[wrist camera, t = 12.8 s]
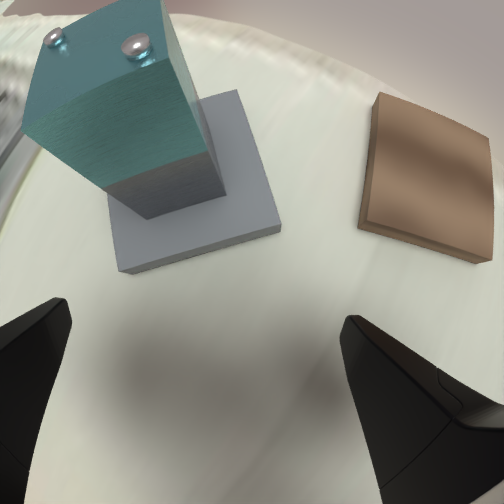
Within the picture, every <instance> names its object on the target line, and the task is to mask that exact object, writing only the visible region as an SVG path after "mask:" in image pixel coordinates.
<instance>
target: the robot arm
mask: <svg viewBox="0 0 504 504" xmlns="http://www.w3.org/2000/svg"><path fill="white" fill-rule="evenodd" d="M71 327H72V318H71V314H70V311H69V307H68V303H67V301H66V299H64V298H57V297H55V298H52V299H50V300H49V301H47V302H45V303H43V304H41V305H39V306H37V307H36V308H34V309H32V310H30V311H28V312H26V313H25V314H23V315H21V316H19V317H17V318H16V319H14V320H12V321H10V322H8V323H7V324H5V325H3V326H1V327H0V504H24V499H25V493H26V488H27V482H28V477H29V471H30V466H31V462H32V457H33V453H34V449H35V445H36V441H37V437H38V434H39V430H40V426H41V423H42V419H43V416H44V413H45V409H46V406H47V403H48V400H49V397H50V394H51V391H52V388H53V385H54V382H55V379H56V377H57V374H58V371H59V368H60V365H61V362H62V359H63V355H64V351H65V348H66V344H67V340H68V337H69V333H70V330H71ZM340 345H341V350H342V355H343V360H344V365H345V370H346V375H347V379H348V383H349V386H350V390H351V393H352V396H353V399H354V402H355V406H356V409H357V412H358V415H359V419H360V422H361V425H362V429H363V432H364V436H365V439H366V443H367V446H368V450H369V453H370V457H371V460H372V464H373V468H374V471H375V475H376V479H377V483H378V486H379V489H380V490H379V491H380V495H381V499H382V503H383V504H504V405H502V404H499V403H497V402H494V401H493V400H491V399H489V398H487V397H486V396H484V395H482V394H480V393H478V392H477V391H475V390H473V389H471V388H470V387H468V386H466V385H464V384H463V383H461V382H459V381H458V380H456V379H454V378H453V377H451V376H450V375H448V374H447V373H445V372H444V371H442V370H441V369H439V368H437V367H436V366H435V365H433V364H432V363H430V362H429V361H427V360H426V359H424V358H423V357H421V356H420V355H418V354H417V353H415V352H414V351H413V350H411V349H410V348H408V347H407V346H405V345H404V344H402V343H401V342H399V341H398V340H396V339H395V338H393V337H392V336H390V335H389V334H387V333H386V332H384V331H383V330H381V329H380V328H378V327H377V326H375V325H374V324H372V323H371V322H369V321H368V320H366V319H365V318H363V317H362V316H360V315H348V316H347V317H346V319H345V322H344V325H343V328H342V330H341V333H340Z"/></svg>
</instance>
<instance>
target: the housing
mask: <svg viewBox="0 0 504 504" xmlns="http://www.w3.org/2000/svg"><path fill="white" fill-rule="evenodd" d="M21 131H22V132H23V133H24V134H26V135H27V136H28V137H30V138H31V139H32V140H34V141H35V142H36V143H38V144H39V145H41V146H42V147H43V148H45V149H46V150H47V151H49V152H50V153H52V154H53V155H54V156H56V157H57V158H58V159H60V160H61V161H63V162H64V163H65V164H67V165H68V166H70V167H71V168H72V169H74V170H75V171H77V172H78V173H79V174H81V175H82V176H84V177H85V178H87V179H88V180H89V181H91V182H92V183H94V184H95V185H97V186H98V187H99V188H101V189H102V190H104V191H105V192H107V193H108V194H109V195H111V196H112V197H114V198H115V199H117V200H118V201H120V202H121V203H123V204H124V205H125V206H127V207H128V208H130V209H131V210H133V211H134V212H136V213H137V214H139V215H140V216H142V217H143V218H145V219H146V220H149V219H152V218H155V217H158V216H161V215H164V214H167V213H170V212H174V211H177V210H180V209H183V208H186V207H190V206H193V205H196V204H200V203H203V202H206V201H210V200H213V199H216V198H220V197H223V196H227V194H226V190H225V186H224V182H223V179H222V175H221V171H220V167H219V163H218V159H217V156H216V152H215V148H214V144H213V140H212V136H211V132H210V128H209V125H208V122H207V120H206V117H205V114H204V111H203V108H202V106H201V103H200V100H199V97H198V95H197V92H196V89H195V86H194V83H193V81H192V78H191V75H190V72H189V70H188V67H187V64H186V61H185V58H184V56H183V53H182V50H181V47H180V45H179V42H178V39H177V36H176V34H175V31H174V28H173V25H172V23H171V20H170V17H169V14H168V11H167V9H166V6H165V3H164V0H119V1H117V2H114V3H112V4H110V5H108V6H105V7H103V8H101V9H99V10H97V11H95V12H93V13H91V14H89V15H87V16H85V17H83V18H81V19H79V20H77V21H75V22H74V23H72V24H70V25H68V26H66V27H65V28H63V29H61V28H60V27H58V28H55V29H53V30H52V31H51V32H49V33H48V34H47V35H46V36H45V38H44V40H43V44H42V47H41V50H40V53H39V56H38V59H37V63H36V66H35V69H34V73H33V77H32V80H31V84H30V88H29V92H28V97H27V101H26V106H25V110H24V115H23V121H22V126H21Z"/></svg>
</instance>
